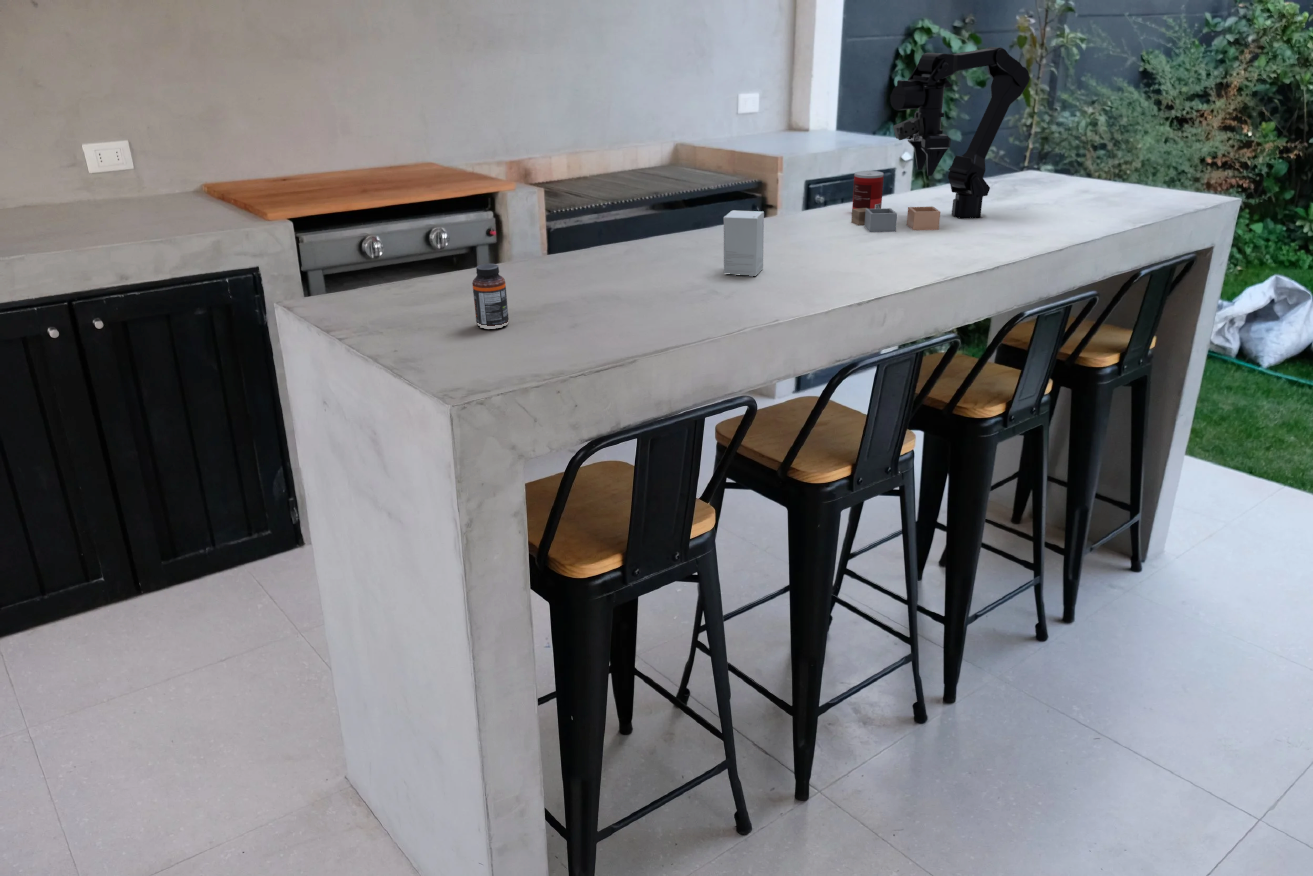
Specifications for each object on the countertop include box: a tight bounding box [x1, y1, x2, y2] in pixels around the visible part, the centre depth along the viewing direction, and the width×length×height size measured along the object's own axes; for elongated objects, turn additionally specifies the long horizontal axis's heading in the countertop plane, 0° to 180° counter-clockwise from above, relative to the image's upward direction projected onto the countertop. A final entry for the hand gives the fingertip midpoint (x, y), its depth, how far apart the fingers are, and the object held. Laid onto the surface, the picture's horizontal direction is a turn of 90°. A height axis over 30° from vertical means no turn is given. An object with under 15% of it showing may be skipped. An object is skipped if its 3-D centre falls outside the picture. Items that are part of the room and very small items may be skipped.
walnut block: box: [850, 208, 868, 226], centre depth 253 cm, size 4×4×4 cm
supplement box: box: [722, 209, 765, 277], centre depth 212 cm, size 7×7×13 cm
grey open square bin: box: [863, 207, 898, 233], centre depth 247 cm, size 6×6×5 cm
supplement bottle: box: [472, 263, 510, 326], centre depth 180 cm, size 6×6×11 cm
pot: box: [906, 206, 941, 231], centre depth 248 cm, size 6×6×5 cm
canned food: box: [851, 170, 885, 210], centre depth 264 cm, size 8×8×11 cm
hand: (924, 172), depth 249 cm, fingers open, 9 cm apart
